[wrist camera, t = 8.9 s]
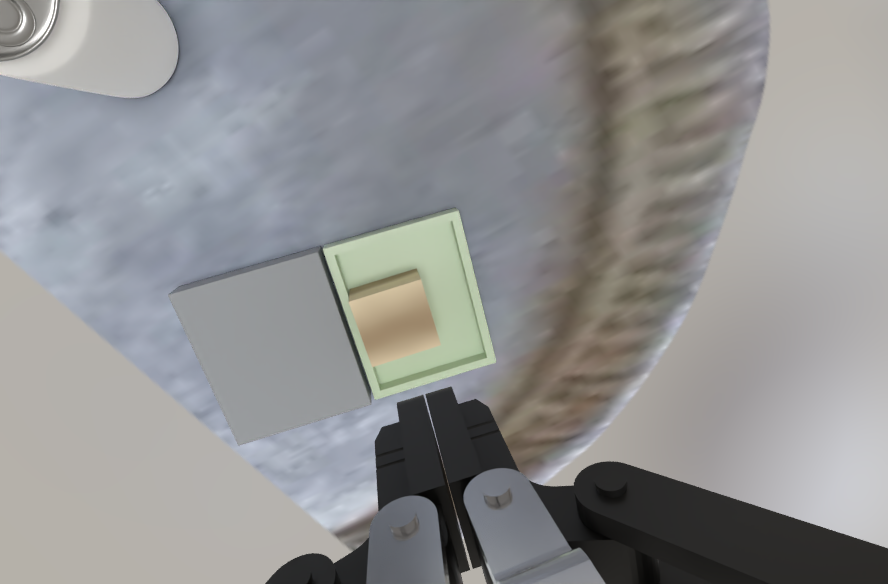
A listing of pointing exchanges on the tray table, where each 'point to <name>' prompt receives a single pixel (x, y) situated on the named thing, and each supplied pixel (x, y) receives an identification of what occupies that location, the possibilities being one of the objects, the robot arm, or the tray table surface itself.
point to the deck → (274, 345)
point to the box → (446, 287)
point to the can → (89, 44)
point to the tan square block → (393, 317)
